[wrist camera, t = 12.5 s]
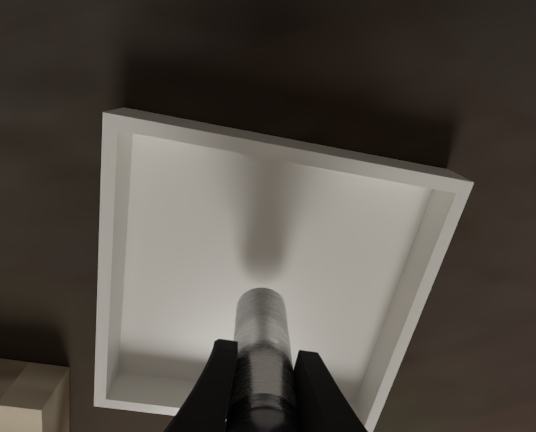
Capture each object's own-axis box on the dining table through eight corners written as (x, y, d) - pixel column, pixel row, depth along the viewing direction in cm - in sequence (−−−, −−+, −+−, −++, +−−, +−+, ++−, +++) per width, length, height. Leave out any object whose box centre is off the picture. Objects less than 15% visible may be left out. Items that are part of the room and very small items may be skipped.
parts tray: (124, 107, 14) (102, 112, 12) (447, 169, 15) (474, 182, 13) (110, 372, 18) (93, 406, 16) (359, 403, 19) (370, 438, 18)
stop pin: (242, 283, 14) (232, 413, 9) (291, 293, 15) (312, 426, 9) (232, 324, 15) (216, 469, 9) (278, 332, 15) (290, 480, 10)
